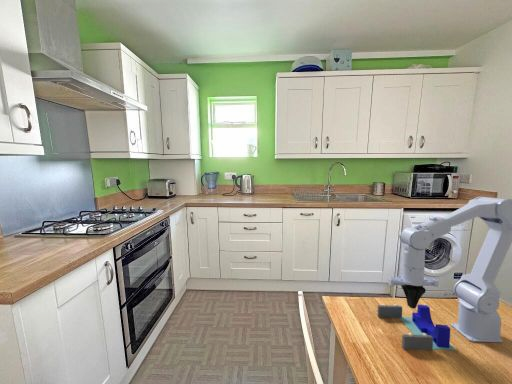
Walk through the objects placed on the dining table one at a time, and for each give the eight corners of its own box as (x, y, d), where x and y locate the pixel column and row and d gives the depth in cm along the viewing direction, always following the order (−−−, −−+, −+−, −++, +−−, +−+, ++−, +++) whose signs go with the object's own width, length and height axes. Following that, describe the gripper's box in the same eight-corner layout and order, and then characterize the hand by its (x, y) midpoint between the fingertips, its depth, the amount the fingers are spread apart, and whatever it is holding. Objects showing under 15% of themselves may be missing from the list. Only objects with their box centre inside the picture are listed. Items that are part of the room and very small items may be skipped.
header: (400, 316, 81) (400, 304, 81) (432, 350, 65) (433, 335, 65) (377, 315, 82) (377, 303, 81) (403, 349, 66) (404, 334, 65)
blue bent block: (412, 320, 79) (412, 304, 78) (426, 322, 78) (427, 305, 77) (432, 346, 67) (433, 326, 67) (449, 348, 66) (450, 328, 66)
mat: (421, 317, 80) (421, 317, 80) (456, 350, 65) (456, 349, 65) (398, 317, 81) (398, 316, 81) (427, 349, 66) (427, 348, 66)
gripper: (428, 261, 75) (426, 300, 76) (383, 260, 76) (382, 299, 77) (444, 270, 68) (442, 312, 69) (395, 269, 69) (393, 311, 70)
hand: (411, 306), depth 73 cm, fingers closed
